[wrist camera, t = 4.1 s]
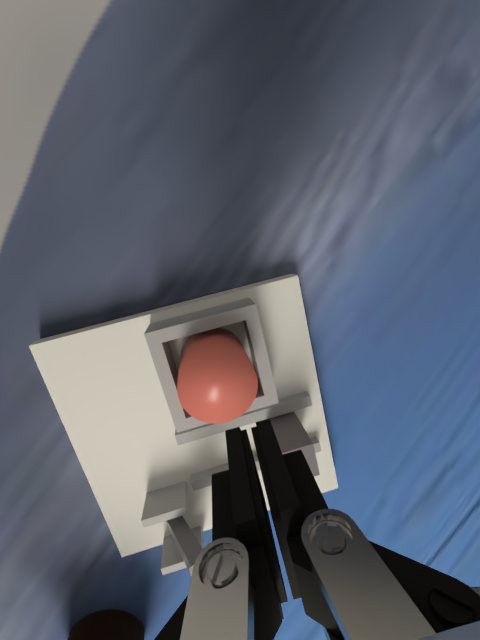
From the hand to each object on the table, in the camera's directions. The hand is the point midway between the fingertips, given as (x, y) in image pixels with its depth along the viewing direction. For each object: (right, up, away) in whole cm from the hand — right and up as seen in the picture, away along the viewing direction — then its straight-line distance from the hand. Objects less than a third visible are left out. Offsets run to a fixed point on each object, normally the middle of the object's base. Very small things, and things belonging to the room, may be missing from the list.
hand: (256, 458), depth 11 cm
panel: (-3, -2, +13) cm, 14 cm away
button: (-2, +2, +10) cm, 11 cm away
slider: (+3, -3, +12) cm, 13 cm away
